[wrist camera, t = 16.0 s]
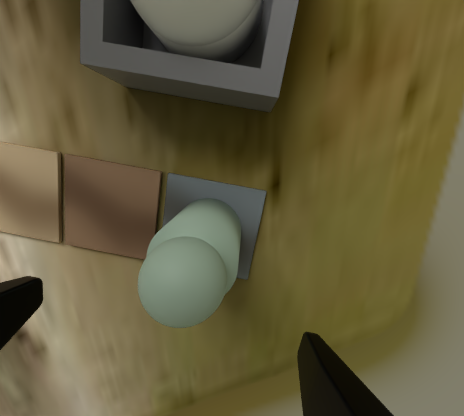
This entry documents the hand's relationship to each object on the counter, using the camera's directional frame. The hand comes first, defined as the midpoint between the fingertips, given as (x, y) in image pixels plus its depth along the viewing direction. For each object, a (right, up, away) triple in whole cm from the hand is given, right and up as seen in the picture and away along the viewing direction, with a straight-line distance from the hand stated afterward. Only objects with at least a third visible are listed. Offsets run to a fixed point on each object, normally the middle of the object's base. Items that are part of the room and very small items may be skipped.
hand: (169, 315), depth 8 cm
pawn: (+1, +2, +8) cm, 8 cm away
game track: (-6, +4, +8) cm, 11 cm away
